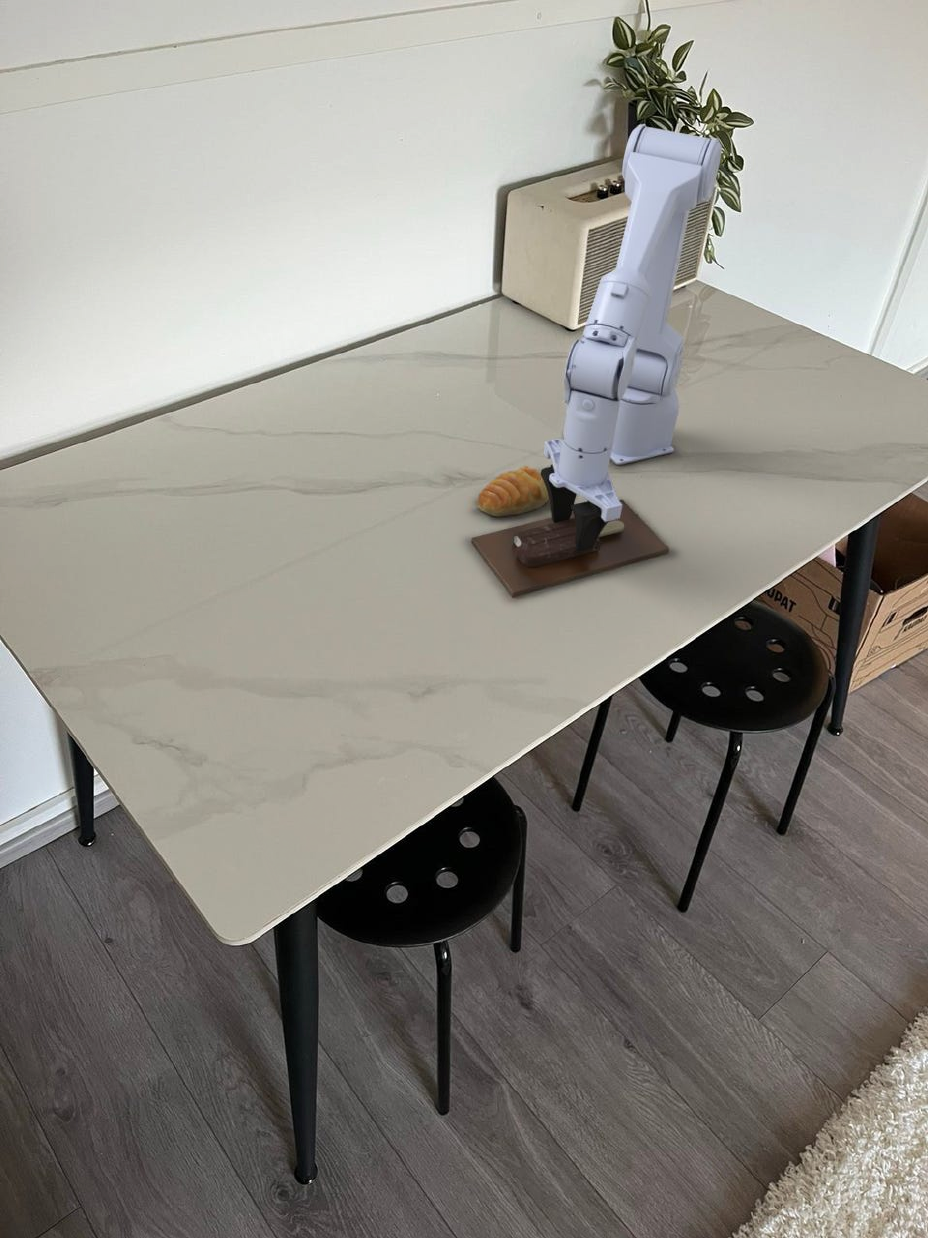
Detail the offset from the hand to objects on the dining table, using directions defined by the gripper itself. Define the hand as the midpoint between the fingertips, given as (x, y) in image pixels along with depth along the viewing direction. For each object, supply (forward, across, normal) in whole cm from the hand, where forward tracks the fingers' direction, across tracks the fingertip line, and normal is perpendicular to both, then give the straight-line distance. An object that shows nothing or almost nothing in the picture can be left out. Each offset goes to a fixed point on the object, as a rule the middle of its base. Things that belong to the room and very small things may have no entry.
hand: (572, 534), depth 127 cm
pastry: (+2, -11, -2) cm, 11 cm away
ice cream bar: (+2, 0, 0) cm, 2 cm away
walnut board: (+2, 0, 0) cm, 2 cm away
